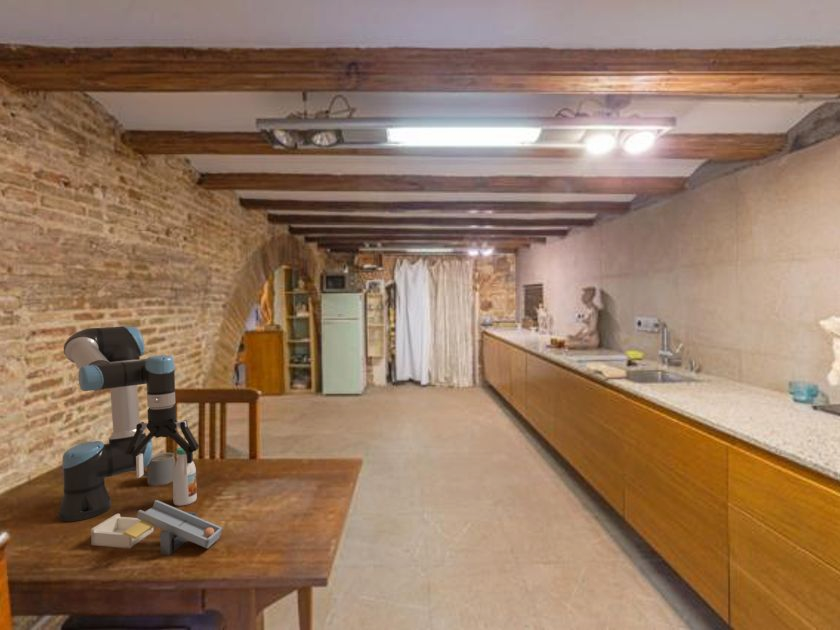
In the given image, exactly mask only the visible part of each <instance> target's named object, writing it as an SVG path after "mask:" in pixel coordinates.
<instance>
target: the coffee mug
mask: <svg viewBox="0 0 840 630" xmlns="http://www.w3.org/2000/svg"><path fill="white" fill-rule="evenodd" d="M175 456H176V455H175V453H173V452H160V453H155V454H152V457H151V460H150V463H149V464H148V465H147V466H146V470H145V469H144V468H143V470H144V474H143V475H142V476H145V477H146V481H147V483H146V484H147V485H149V486H153V487H157V486H163V485H168V484H170V483H173V469H174V466H175V464H176V462H175Z"/></svg>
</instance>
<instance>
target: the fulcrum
mask: <svg viewBox="0 0 840 630" xmlns="http://www.w3.org/2000/svg"><path fill="white" fill-rule="evenodd" d="M186 512H187V513H189V514H191V515H194V516H196V517H198V512H196V511H186ZM159 539H160V541H159V542H160V543H159V544H160V548H159V549H160V555H165V556H167V555H168V556H170V555H172V554H173V553H174V552H176V551H177V550H178V549H179V548H180V547H182V546H183V545H184V544H186V542H188V540H186V539H184V538H181V537H179V536H177V535H174V534H173V535H172V531H165V530H161V531H160V532H159Z"/></svg>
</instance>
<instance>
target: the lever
mask: <svg viewBox="0 0 840 630" xmlns="http://www.w3.org/2000/svg"><path fill="white" fill-rule="evenodd" d="M187 512H188V511H184V510H181V509H179V508H177V507H174V506H172V505H170V504H168V503H165V502H163V501H160V500H158V499H156V500H154V502H153V505H152V507H150V508H149V509H147V510H145V511H144V510H141V509H139V510H138V511H137V515H136V518H138V519H140V520H141V521H140V522H138V523H137V524H135V525H134V526H132V527H130V528H129V529H127V530H126V531H124V533H123V534H124V535H126V536H128V537H131V538H133V539H137V538H138V537H140V536H141V535H143V534H144V533H145V532H147V531H148V530H150V529H151V528H153V527H156V528H158V529H161V530H162V531H172V535H173V534H174V535H177V536H179V537H181V538H184V539H186V540H188V541H189V542H191V543H193V544H196V545H198V546H200V547H202V548H205V549H206V550H207V549H210V547H211V546H213V544H214V543H216V542H217V541H218V540H219V539H220V537H221V535H222V533H223V530H224V527H222V526H220V525H217V524H215V523H213V522H210V521H207V520H206V519H204V518H200V517H198V516H197V517H196V516H194V515H191V514H189V513H187ZM207 528H213V529H214V534H212V535H211V536H210V537H209V538H205V537H204V531H205V529H207ZM188 541H187V542H188Z"/></svg>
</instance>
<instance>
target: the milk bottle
mask: <svg viewBox="0 0 840 630" xmlns="http://www.w3.org/2000/svg"><path fill="white" fill-rule="evenodd" d="M185 453H186V452H185V451H184V450H183V449H182V448H181V447H180V446H179V447H178V448H176V456H177V459H176V462H175V466H174V469H173V481H172V496H173V497H172V499H173V501H172V502H173V505H175V506H180V507H181V506H187V505H190V504H193V503H195V502H196V501H197V498H198V497H197V496H198V493H197V492H198V491H197V488H198V487H197V485H198V484H197V468H196V465H195V462H194V460H193V461H192V462H191V463H190V472H189V473H188V474H187V475H184V454H185Z"/></svg>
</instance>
